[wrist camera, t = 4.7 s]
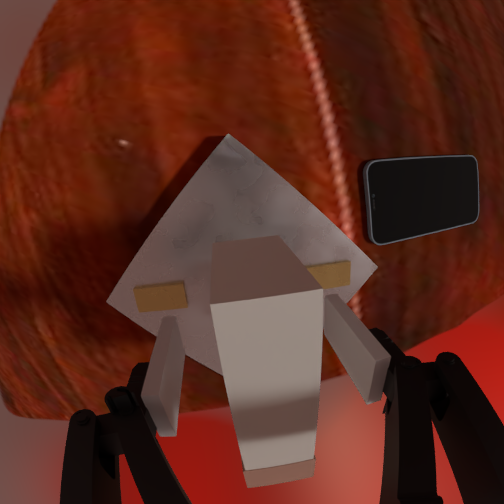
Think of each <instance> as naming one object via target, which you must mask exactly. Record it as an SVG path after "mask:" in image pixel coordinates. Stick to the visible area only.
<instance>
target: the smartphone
mask: <svg viewBox="0 0 504 504" xmlns="http://www.w3.org/2000/svg"><path fill="white" fill-rule="evenodd" d="M363 179H364V189H365V199H366V211H367V225H368V236H369V238H370V240H371V241H372V242H373V243H375V244H377V245H385V244H389V243H394V242H398V241H402V240H406V239H411V238H415V237H419V236H423V235H427V234H431V233H436V232H440V231H444V230H448V229H452V228H456V227H460V226H464V225H468V224H472V223H474V222H475V221H476V220H477V218H478V215H479V180H478V164H477V161H476V159H475V157H474V156H472V155H449V156H424V157H401V158H393V159H381V160H372V161H369V162H368V163H367V164H366V165H365V167H364V169H363Z"/></svg>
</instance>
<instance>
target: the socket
mask: <svg viewBox="0 0 504 504" xmlns="http://www.w3.org/2000/svg"><path fill="white" fill-rule="evenodd" d="M274 235H279V237H280V238H281V239H282V240H283V241H284V242H285V244H286V245H287V246H288V247H289V248H290V249H291V251H292V252H293V253H294V254H295V255H296V257H297V258H298V259H299V260H300V261H301V262H302V264H303V265H304V266H305V267H306V268H307V270H308V271H309V272H310V273H311V274H312V276H313V277H314V278H315V279H316V280H317V282H318V283H319V284H320V285H321V287H322V288H323V328H324V319H325V295H331V294H336V293H337V294H338V295H339V297H340V298H341V299H342V300H343V301H344V302H345V303H347V302H348V301H349V300H350V299H351V298H352V297H353V295H354V294H355V293H356V292H357V291H358V290H359V289H360V287H361V286H362V285H363V284H364V283H365V282H366V280H367V279H368V278H369V277H370V276H371V274H372V273H373V272H374V271H375V270H376V268H377V266H376V265H375V264H374V263H373V262H372V261H371V260H370V259H369V258H368V257H367V256H366V255H365V254H364V253H363V252H362V251H361V250H360V249H359V248H358V247H357V246H356V245H355V244H354V243H353V242H352V241H351V240H350V239H349V238H348V237H347V236H346V235H345V234H344V233H343V232H342V231H341V230H340V229H339V228H337V227H336V226H335V225H334V224H333V223H332V222H331V221H330V220H329V219H328V218H327V217H326V216H325V215H324V214H322V213H321V212H320V211H319V210H318V209H317V208H316V207H315V206H314V205H313V204H312V203H310V202H309V201H308V200H307V199H306V198H305V197H304V196H303V195H301V194H300V193H299V192H298V191H297V190H296V189H295V188H294V187H292V186H291V185H290V184H289V183H288V182H287V181H286V180H284V179H283V178H282V177H281V176H280V175H279V174H277V173H276V172H275V171H274V170H273V169H271V168H270V167H269V166H268V165H267V164H265V163H264V162H263V161H262V160H261V159H259V158H258V157H257V156H256V155H255V154H253V153H252V152H251V151H250V150H248V149H247V148H246V147H245V146H244V145H242V144H241V143H240V142H239V141H237V140H236V139H235V138H233V137H232V136H231V135H230V134H227V135H226V137H225V138H224V139H223V140H222V141H221V143H220V144H219V145H218V146H217V147H216V148H215V150H214V151H213V152H212V153H211V155H210V156H209V157H208V158H207V159H206V161H205V162H204V163H203V164H202V166H201V167H200V168H199V169H198V171H197V172H196V173H195V174H194V176H193V177H192V178H191V180H190V181H189V182H188V183H187V185H186V186H185V187H184V189H183V190H182V191H181V192H180V194H179V195H178V196H177V198H176V199H175V200H174V202H173V203H172V204H171V206H170V207H169V209H168V210H167V211H166V213H165V214H164V215H163V217H162V218H161V220H160V221H159V222H158V224H157V225H156V227H155V228H154V229H153V231H152V232H151V234H150V235H149V237H148V238H147V239H146V241H145V242H144V244H143V245H142V247H141V248H140V250H139V251H138V253H137V254H136V256H135V257H134V259H133V260H132V262H131V263H130V265H129V266H128V268H127V269H126V271H125V272H124V274H123V275H122V277H121V279H120V280H119V282H118V283H117V285H116V287H115V288H114V290H113V291H112V293H111V295H110V296H109V298H108V300H107V301H106V302H107V303H108V304H110V305H111V306H112V307H114V308H115V309H117V310H118V311H119V312H121V313H122V314H124V315H125V316H126V317H128V318H129V319H131V320H132V321H134V322H135V323H137V324H138V325H140V326H141V327H143V328H144V329H146V330H147V331H149V332H150V333H152V334H153V335H155V336H156V337H157V335H158V332H159V329H160V325H161V322H162V319H163V317H166V316H176V319H177V323H178V327H179V331H180V335H181V339H182V343H183V347H184V351H185V354H186V355H187V356H189V357H191V358H192V359H194V360H196V361H198V362H199V363H201V364H203V365H205V366H206V367H208V368H210V369H212V370H214V371H215V372H217V373H219V374H221V375H223V371H222V366H221V361H220V356H219V351H218V346H217V340H216V335H215V330H214V324H213V318H212V313H211V307H210V291H211V266H212V245H213V243H216V242H224V241H232V240H240V239H249V238H257V237H266V236H274Z"/></svg>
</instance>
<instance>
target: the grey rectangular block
mask: <svg viewBox="0 0 504 504" xmlns="http://www.w3.org/2000/svg"><path fill="white" fill-rule="evenodd" d="M210 307H211V313H212V318H213V324H214V330H215V335H216V340H217V346H218V351H219V356H220V361H221V366H222V371H223V376H224V381H225V386H226V391H227V395H228V400H229V405H230V409H231V414H232V418H233V422H234V427H235V431H236V435H237V440H238V443H239V448H240V452H241V459H242V466H243V473H244V476H245V480H246V484H247V487H248V488H251V487H259V486H266V485H272V484H278V483H284V482H290V481H294V480H299V479H304V478H308V477H312V476H313V475H314V468H315V461H316V458H315V455H314V450H315V440H316V430H317V419H318V407H319V394H320V378H321V359H322V333H323V288H322V287H321V285H320V284H319V283H318V282H317V280H316V279H315V278H314V277H313V276H312V274H311V273H310V272H309V271H308V270H307V268H306V267H305V266H304V265H303V264H302V262H301V261H300V260H299V259H298V258H297V257H296V255H295V254H294V253H293V252H292V251H291V249H290V248H289V247H288V246H287V245H286V244H285V242H284V241H283V240H282V239H281V238H280V237H279V235H274V236H266V237H257V238H249V239H240V240H232V241H224V242H216V243H213V245H212V266H211V291H210Z"/></svg>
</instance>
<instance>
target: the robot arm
mask: <svg viewBox="0 0 504 504" xmlns="http://www.w3.org/2000/svg"><path fill="white" fill-rule="evenodd" d="M324 335H325V336H326V338H327V339H328V341H329V343H330V344H331V346H332V348H333V349H334V351H335V353H336V354H337V356H338V358H339V359H340V361H341V362H342V364H343V366H344V367H345V369H346V371H347V372H348V374H349V376H350V377H351V379H352V381H353V382H354V384H355V386H356V387H357V389H358V391H359V392H360V394H361V396H362V397H363V399H364V401H365V402H366V404H370V403H373V402H376V401H379V400H381V397H382V394H383V392H384V394H385V395H386V396H387V399H386V403H385V406H384V410H383V413H385V446H384V463H383V476H382V486H381V495H380V503H379V504H443V499H442V497H440V496H438V495H437V487H436V463H435V449H434V439H433V428H432V421H433V423H434V426H435V428H436V431H437V433H438V435H439V438H440V440H441V443H442V445H443V448H444V450H445V452H446V455H447V458H448V460H449V463H450V465H451V468H452V471H453V473H454V476H455V479H456V482H457V485H458V488H459V490H460V493H461V496H462V499H463V503H464V504H504V426H503V424H502V422H501V420H500V418H499V417H498V415H497V413H496V412H495V410H494V409H493V407H492V405H491V404H490V402H489V401H488V399H487V398H486V396H485V394H484V393H483V391H482V390H481V388H480V387H479V385H478V384H477V382H476V381H475V379H474V378H473V376H472V375H471V373H470V372H469V371H468V369H467V368H466V366H465V365H464V363H463V362H462V361H461V359H460V358H459V357H458V356H457V355H456V354H454V353H450V352H443V353H440V354H439V355H438V356H437V358H436V361H435V362H427V363H421V361H420V360H419V359H417V358H415V357H413V356H405V354H404V353H403V352H402V351H401V350H400V349H399V348H398V347H397V346H396V344H395V343H394V342H393V341H392V340H391V339H390V338H389V337H388V336H387V335H386V334H385V332H383V331H382V330H380V329H378V328H373V329H369V330H368V329H367V328H366V326H365V325H364V324H363V323H362V322H361V321H360V319H359V318H358V317H357V316H356V315H355V314H354V313H353V311H352V310H351V309H350V308H349V307H348V306H347V305H346V303H345V302H344V301H343V300H342V299H341V298H340V297H339V295H338V294H337V293H336V294H331V295H325V319H324ZM184 359H185V351H184V347H183V343H182V339H181V335H180V331H179V327H178V323H177V319H176V316H166V317H163V319H162V322H161V325H160V329H159V332H158V335H157V339H156V342H155V346H154V349H153V352H152V356H151V359H150V362H145V363H138V364H137V365H136V366H135V367H134V368H133V369H132V372H131V375H130V378H129V381H128V382H129V383H128V384H127V387H124V386H120V387H115V388H113V389H111V390H110V391H109V392H107V394H106V395H105V403H106V404H107V406H108V408H109V410H110V412H111V413H108V414H103V415H98V416H96V415H95V414H94V412H93V411H91V410H88V409H83V410H79V411H77V412H75V413H74V414H73V415H72V416H71V419H70V422H69V428H68V434H67V440H66V447H65V454H64V462H63V470H62V480H61V494H60V504H122V503H121V490H120V473H119V455H120V454H125V457H126V460H127V462H128V465H129V468H130V471H131V473H132V475H133V478H134V481H135V483H136V486H137V488H138V490H139V493H140V495H141V497H142V499H143V502H144V504H192V503H191V501H190V500H189V498H188V496H187V495H186V493H185V491H184V490H183V488H182V486H181V485H180V483H179V481H178V479H177V477H176V475H175V474H174V472H173V470H172V468H171V466H170V464H169V463H168V461H167V459H166V457H165V455H164V453H163V451H162V449H161V447H160V445H159V443H158V441H157V439H156V437H155V436H156V430H157V431H158V433H159V435H160V436H176V433H177V422H178V412H179V402H180V393H181V384H182V375H183V367H184ZM431 419H432V420H431Z"/></svg>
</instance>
